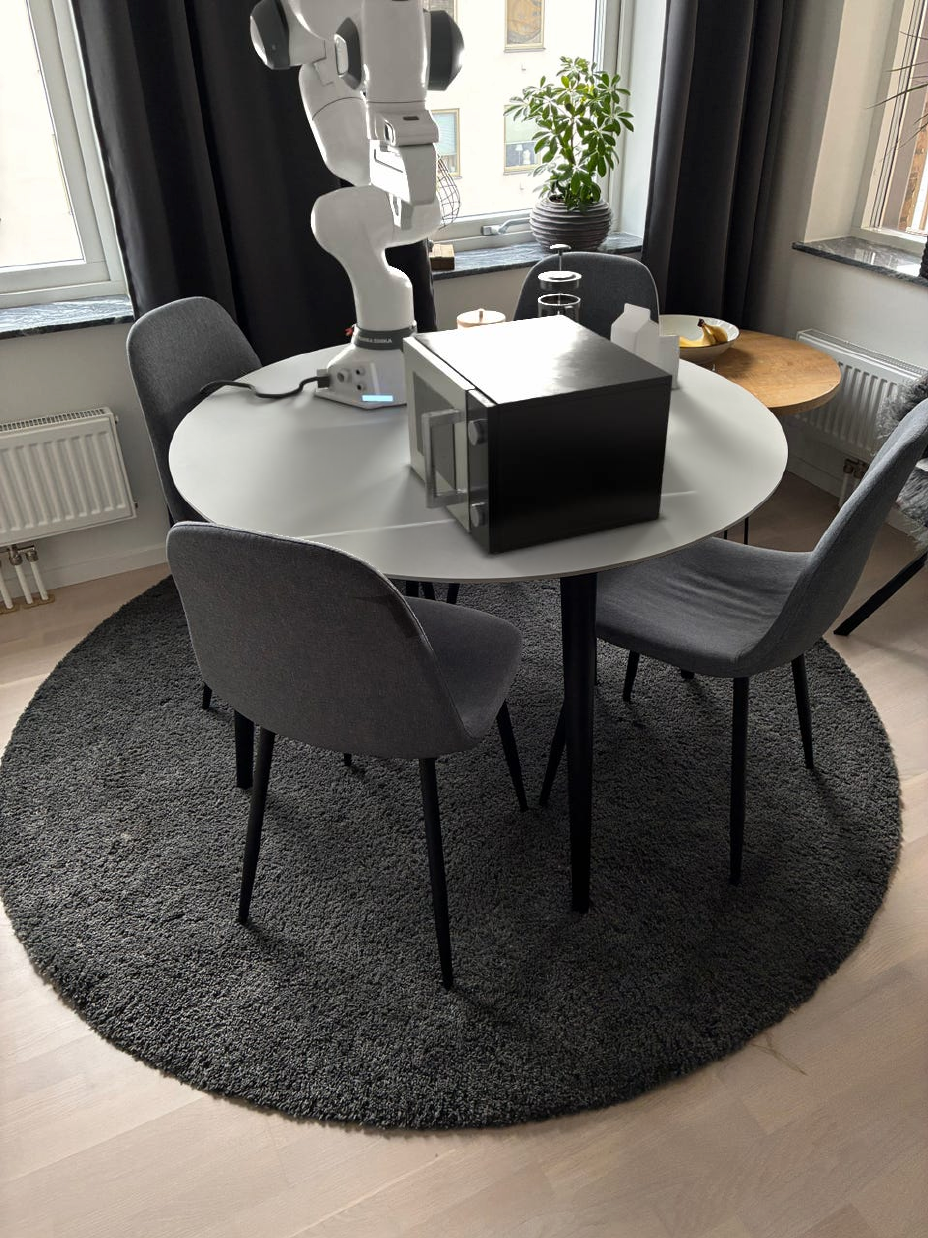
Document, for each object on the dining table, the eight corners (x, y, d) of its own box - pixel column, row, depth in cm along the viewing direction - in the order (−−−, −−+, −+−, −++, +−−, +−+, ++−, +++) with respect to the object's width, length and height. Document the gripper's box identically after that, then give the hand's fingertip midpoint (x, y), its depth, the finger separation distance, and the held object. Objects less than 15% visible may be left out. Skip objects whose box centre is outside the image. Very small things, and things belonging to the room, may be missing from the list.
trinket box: (511, 346, 214) (511, 304, 209) (497, 360, 206) (496, 317, 200) (466, 343, 217) (465, 301, 212) (451, 357, 209) (449, 314, 203)
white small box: (676, 387, 188) (681, 338, 182) (642, 389, 188) (646, 339, 182) (672, 381, 191) (677, 332, 185) (639, 383, 191) (643, 333, 185)
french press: (529, 350, 211) (530, 242, 199) (568, 345, 213) (571, 238, 201) (548, 365, 202) (550, 253, 189) (588, 360, 204) (593, 249, 191)
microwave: (484, 556, 132) (481, 406, 120) (407, 467, 159) (399, 337, 147) (659, 518, 140) (672, 374, 128) (558, 439, 167) (562, 314, 155)
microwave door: (434, 539, 136) (427, 395, 124) (380, 471, 157) (370, 342, 145) (478, 530, 138) (475, 387, 127) (419, 464, 159) (412, 336, 147)
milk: (628, 438, 167) (637, 313, 154) (604, 429, 171) (611, 306, 158) (652, 430, 170) (663, 306, 157) (628, 420, 174) (636, 299, 161)
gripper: (356, 117, 138) (363, 217, 146) (399, 132, 122) (404, 244, 130) (396, 114, 140) (401, 214, 148) (444, 129, 124) (447, 239, 132)
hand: (403, 228), depth 139 cm, fingers closed
